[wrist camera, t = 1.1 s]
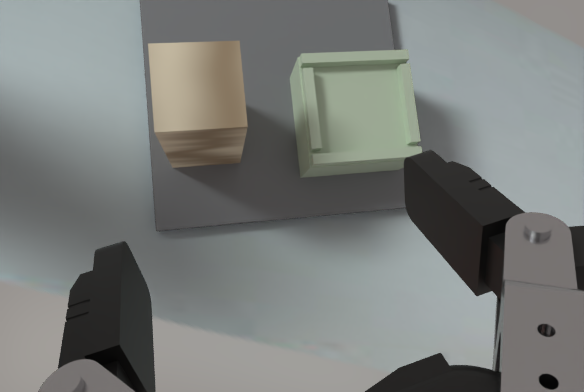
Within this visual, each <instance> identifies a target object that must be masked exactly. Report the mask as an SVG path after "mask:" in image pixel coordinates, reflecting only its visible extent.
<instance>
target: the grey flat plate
mask: <svg viewBox="0 0 584 392" xmlns="http://www.w3.org/2000/svg"><path fill="white" fill-rule="evenodd" d="M140 10H141V25H142V39H143V53H144V67H145V81H146V95H147V109H148V124H149V138H150V152H151V166H152V180H153V194H154V208H155V223H156V231H165V230H175V229H186V228H197V227H207V226H218V225H229V224H239V223H250V222H261V221H271V220H282V219H293V218H303V217H314V216H325V215H335V214H346V213H357V212H367V211H378V210H389V209H400V208H406V206H405V192H404V168H402V169H400V170H392V171H379V172H367V173H354V174H341V175H329V176H316V177H304V178H300V169H299V160H298V151H297V142H296V132H295V123H294V114H293V105H292V95H291V86H290V76H291V73H292V71H293V68H294V66H295V63H296V60H297V58H298V57H300V55H301V53H326V52H353V51H380V50H394V43H393V35H392V28H391V21H390V13H389V6H388V0H140ZM213 41H240V51H241V62H242V72H243V82H244V93H245V103H246V114H247V124H248V128H247V133H246V137H245V142H244V147H243V152H242V156H241V161H240V163H233V164H219V165H205V166H192V167H178V168H172V166H171V164H170V162H169V160H168V158H167V156H166V154H165V152H164V150H163V148H162V146H161V144H160V142H159V140H158V138H157V137H156V135H155V133H154V120H153V106H152V92H151V78H150V65H149V51H148V44H149V43H181V42H213Z"/></svg>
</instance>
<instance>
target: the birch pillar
mask: <svg viewBox="0 0 584 392" xmlns="http://www.w3.org/2000/svg"><path fill="white" fill-rule="evenodd" d="M148 51H149V65H150V78H151V92H152V106H153V120H154V133H155V135H156V137H157V138H158V140H159V142H160V144H161V146H162V148H163V150H164V152H165V154H166V156H167V158H168V160H169V162H170V164H171V166H172V168H178V167H192V166H205V165H219V164H233V163H240V161H241V156H242V152H243V147H244V142H245V137H246V133H247V128H248V124H247V114H246V103H245V93H244V82H243V72H242V62H241V51H240V41H213V42H181V43H149V44H148Z"/></svg>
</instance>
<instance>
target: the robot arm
mask: <svg viewBox="0 0 584 392" xmlns="http://www.w3.org/2000/svg"><path fill="white" fill-rule="evenodd" d="M404 192H405V206H406V209H407V212H408V215H409V217H410V219H411V220H412V221H413V223H414V224H415V225H416V226H417V227H418V229H419V230H420V231H421V232H422V233H423V234H424V236H425V237H426V238H427V239H428V240H429V241H430V243H431V244H432V245H433V246H434V247H435V248H436V249H437V251H438V252H439V253H440V254H441V255H442V256H443V258H444V259H445V260H446V261H447V262H448V263H449V265H450V266H451V267H452V268H453V269H454V270H455V272H456V273H457V274H458V275H459V276H460V277H461V279H462V280H463V281H464V282H465V283H466V284H467V286H468V287H469V288H470V289H471V290H472V291H473V293H474V294H475V295H476V296H479V295H482V294H485V293H487V292H490V291H493V292H494V293H495V294H496V296H497V302H496V316H495V334H494V352H493V367H492V370H490V369H486V368H482V367H477V366H468V365H450V366H449V364H448V363H447V361H446V360H445V358H444V357H443V355H442V354H441V353H438V354H436V355H433V356H430V357H427V358H425V359H422V360H419V361H416V362H414V363H411V364H408V365H406V366H403V367H400V368H398V369H397V370H395V371H394V372H392V373H391V374H390V375H388V376H387V377H385V378H384V379H383V380H381V381H380V382H378V383H377V384H375V385H374V386H372V387H371V388H370V389H368V390H367V391H365V392H584V226H575V227H568V226H567V225H566V224H565V223H564V222H563V221H561V220H559V219H558V218H556V217H553V216H551V215H548V214H543V213H535V212H529V213H525V212H524V211H523V210H521V209H520V208H519V207H518V206H516V205H515V204H514V203H513V202H511V201H510V200H509V199H508V198H506V197H505V196H504V195H503V194H502V193H500V192H499V191H498V190H497V189H495V188H494V187H491V185H490V184H489V183H488V182H487V181H485V180H484V179H482V178H481V177H480V176H479V175H478V174H477V173H475V172H474V171H473V170H472V169H471V168H469V167H466V166H464V165H461V164H458V163H456V162H453V161H452V162H449V163H447V162H445V161H444V160H443V159H442V158H441V157H440V156H438V155H437V154H436V153H435V152H434V151H432V150H429V151H426V152H423V153H419V154H416V155H413V156H409V157H406V158H405V160H404ZM68 308H69V309H67V314H66V321H67V322H65V327H64V333H63V340H62V346H61V353H60V359H59V365H58V369H57V370H56V371H55V372H53V373H52V374H51V375H50V376H49V377H48V378H47V379H46V381H45V382H44V383H43V384H42V386H41V387H40V389H39V391H38V392H155V371H154V350H153V329H152V307H151V298H150V294H149V290H148V287H147V284H146V282H145V280H144V278H143V275H142V273H141V271H140V269H139V267H138V265H137V263H136V261H135V259H134V257H133V254H132V252H131V250H130V248H129V246H128V245H127V243H126V242H125V241H123V242H120V243H117V244H113V245H110V246H107V247H103V248H100V249H97V250H96V251H95V256H94V265H93V271H89V272H86V273H83V274H80V276H79V277H78V279H77V281H76V282H75V284H74V285H73V287H72V288H71V290H70V295H69V302H68Z"/></svg>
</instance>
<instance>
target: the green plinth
mask: <svg viewBox="0 0 584 392" xmlns="http://www.w3.org/2000/svg"><path fill="white" fill-rule="evenodd" d="M408 60H409V54H408V50H380V51H353V52H326V53H301V55H300V57H298V58H297V60H296V63H295V66H294V68H293V71H292V73H291V76H290V86H291V95H292V105H293V114H294V123H295V132H296V142H297V151H298V160H299V169H300V178H304V177H316V176H329V175H341V174H354V173H367V172H379V171H392V170H400V169H402V168H404V160H405V158H406V157H409V156H413V155H416V154H419V153H422V147H421V146H418V145H417V143H418V142H420V141H421V140H420V133H419V126H418V118H417V111H416V104H415V97H414V90H413V83H412V75H411V68H410V63H409V64H406V62H407V61H408Z"/></svg>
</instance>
